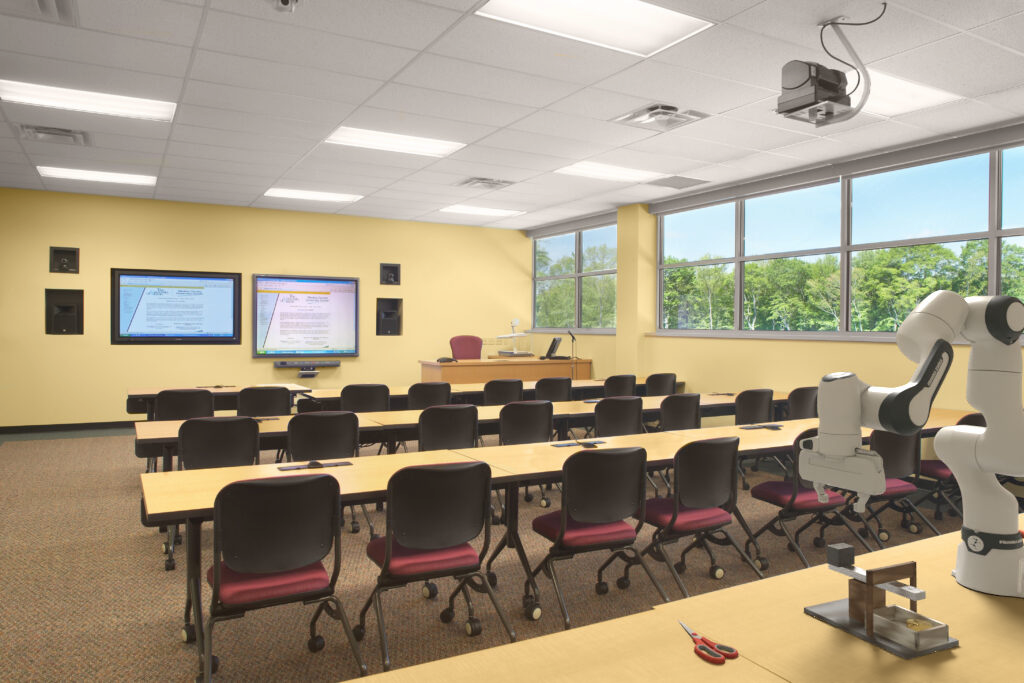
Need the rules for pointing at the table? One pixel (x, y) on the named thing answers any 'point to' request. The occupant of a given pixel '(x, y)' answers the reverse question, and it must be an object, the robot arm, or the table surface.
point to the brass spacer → (918, 624)
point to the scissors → (710, 648)
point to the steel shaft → (843, 561)
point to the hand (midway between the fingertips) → (840, 506)
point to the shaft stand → (884, 615)
